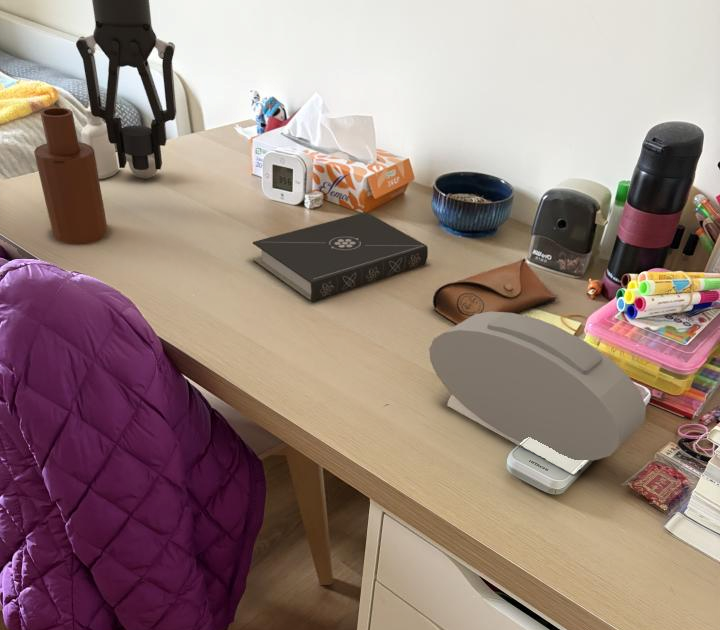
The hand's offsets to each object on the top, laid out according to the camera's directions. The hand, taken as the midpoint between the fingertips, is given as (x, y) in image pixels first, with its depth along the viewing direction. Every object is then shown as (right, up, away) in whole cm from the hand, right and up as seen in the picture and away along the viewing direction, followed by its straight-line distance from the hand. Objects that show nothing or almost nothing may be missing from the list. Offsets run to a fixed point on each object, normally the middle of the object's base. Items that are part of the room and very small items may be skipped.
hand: (141, 165), depth 112 cm
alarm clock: (+52, -44, -32) cm, 76 cm away
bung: (0, 0, 0) cm, 0 cm away
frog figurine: (-4, +4, +14) cm, 15 cm away
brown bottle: (-8, -12, -4) cm, 15 cm away
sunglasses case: (+54, -25, -11) cm, 60 cm away
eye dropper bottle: (-11, +4, +14) cm, 18 cm away
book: (+32, -17, -5) cm, 36 cm away
